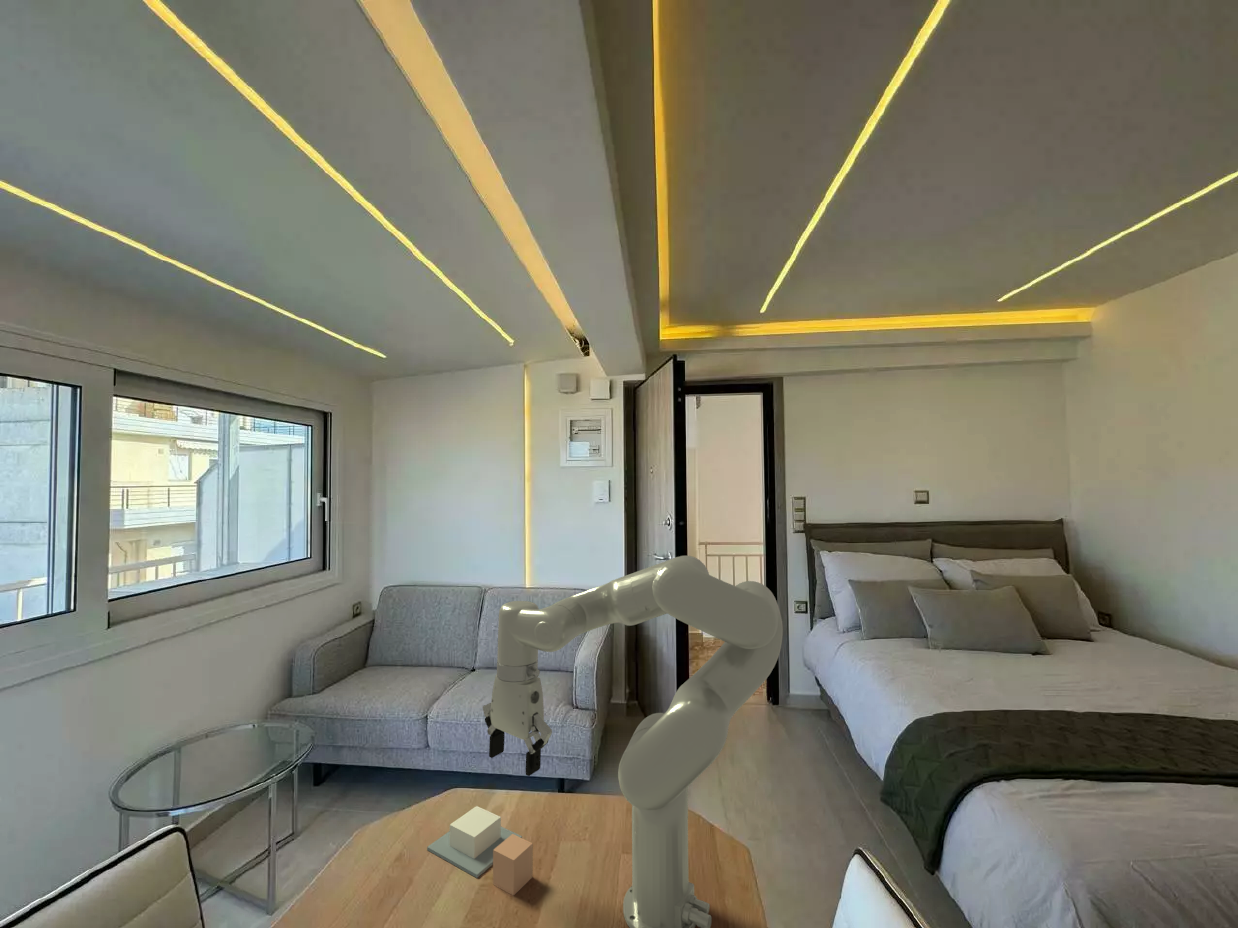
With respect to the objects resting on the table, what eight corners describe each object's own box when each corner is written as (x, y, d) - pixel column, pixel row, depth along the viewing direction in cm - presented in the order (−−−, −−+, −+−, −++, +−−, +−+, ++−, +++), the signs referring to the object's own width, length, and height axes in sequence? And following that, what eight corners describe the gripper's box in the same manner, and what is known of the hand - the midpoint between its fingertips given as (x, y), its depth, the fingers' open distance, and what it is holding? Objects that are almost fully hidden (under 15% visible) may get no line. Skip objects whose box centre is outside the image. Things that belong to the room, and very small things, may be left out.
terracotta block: (532, 877, 92) (532, 843, 92) (513, 895, 87) (513, 860, 88) (512, 866, 94) (512, 833, 95) (492, 884, 90) (493, 849, 90)
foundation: (521, 839, 102) (522, 815, 102) (477, 877, 91) (477, 851, 92) (473, 816, 109) (474, 794, 109) (427, 849, 99) (427, 825, 99)
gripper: (565, 674, 92) (562, 770, 91) (501, 654, 102) (498, 740, 101) (536, 687, 86) (533, 789, 85) (471, 664, 96) (467, 756, 95)
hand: (514, 763), depth 93 cm, fingers open, 9 cm apart
